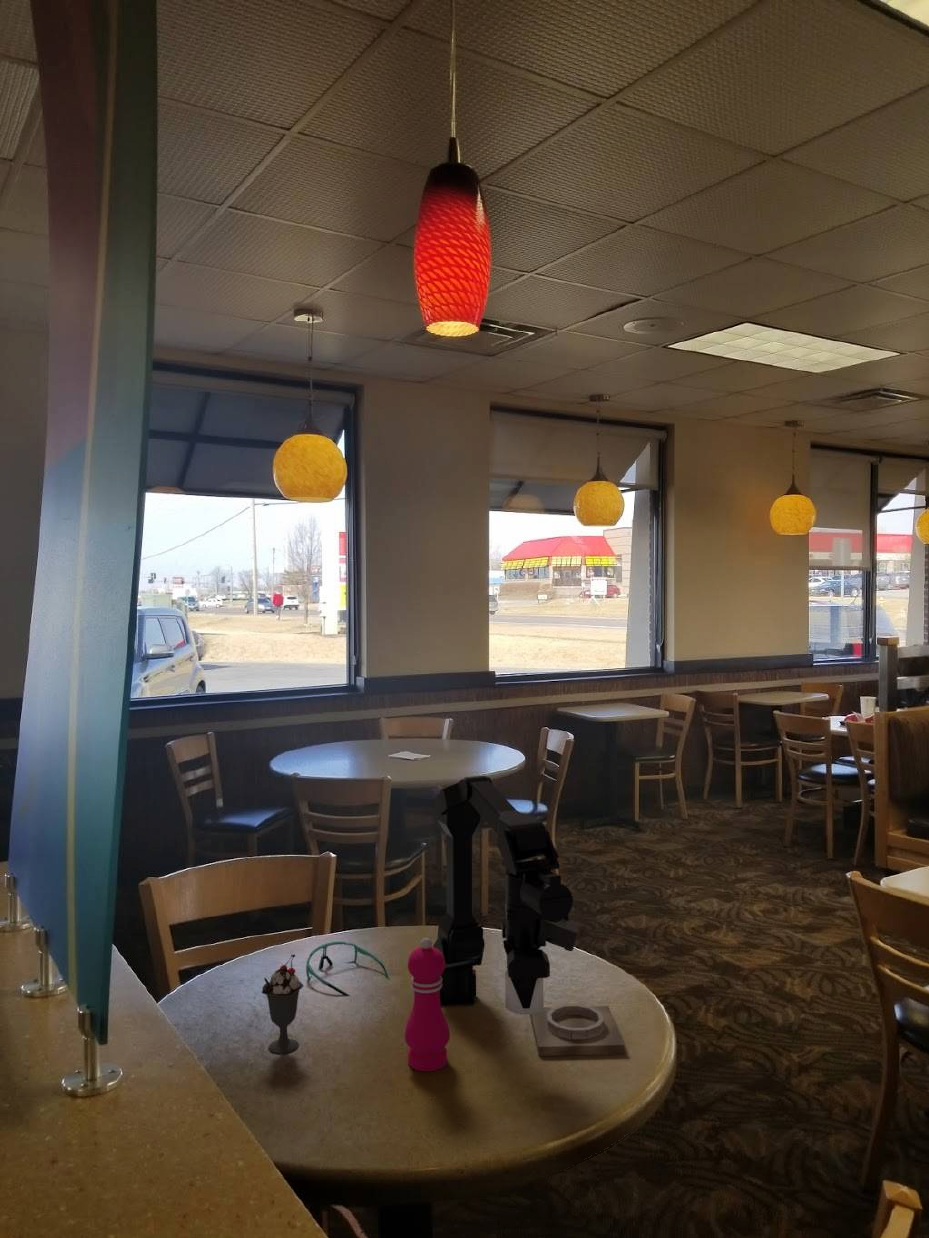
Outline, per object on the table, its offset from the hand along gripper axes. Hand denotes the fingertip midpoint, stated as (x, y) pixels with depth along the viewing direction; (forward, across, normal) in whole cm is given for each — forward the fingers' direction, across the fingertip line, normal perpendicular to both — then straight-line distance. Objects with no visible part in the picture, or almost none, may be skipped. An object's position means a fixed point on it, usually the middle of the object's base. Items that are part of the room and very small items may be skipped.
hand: (524, 998), depth 143 cm
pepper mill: (+11, +2, +16) cm, 19 cm away
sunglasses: (+12, +35, +32) cm, 49 cm away
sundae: (+11, +8, +40) cm, 42 cm away
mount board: (+11, +10, -9) cm, 18 cm away
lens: (+1, 0, 0) cm, 1 cm away
